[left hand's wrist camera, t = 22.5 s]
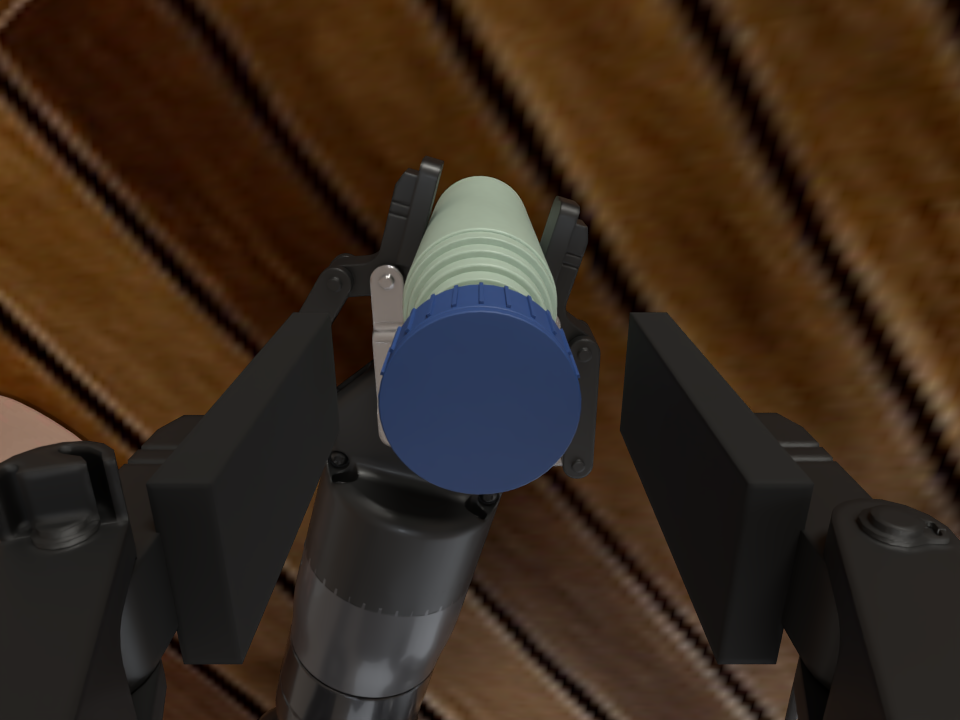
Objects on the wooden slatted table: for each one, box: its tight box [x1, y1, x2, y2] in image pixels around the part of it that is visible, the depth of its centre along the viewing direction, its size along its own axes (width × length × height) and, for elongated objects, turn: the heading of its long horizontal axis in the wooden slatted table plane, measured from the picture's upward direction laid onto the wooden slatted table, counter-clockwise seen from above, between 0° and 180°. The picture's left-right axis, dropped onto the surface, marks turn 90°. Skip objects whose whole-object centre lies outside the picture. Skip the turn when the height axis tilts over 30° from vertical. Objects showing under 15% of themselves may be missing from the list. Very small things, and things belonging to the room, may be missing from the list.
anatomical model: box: [0, 396, 82, 463], centre depth 34 cm, size 13×4×12 cm
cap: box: [378, 282, 581, 494], centre depth 14 cm, size 4×4×2 cm
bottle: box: [402, 176, 557, 323], centre depth 22 cm, size 4×4×18 cm
